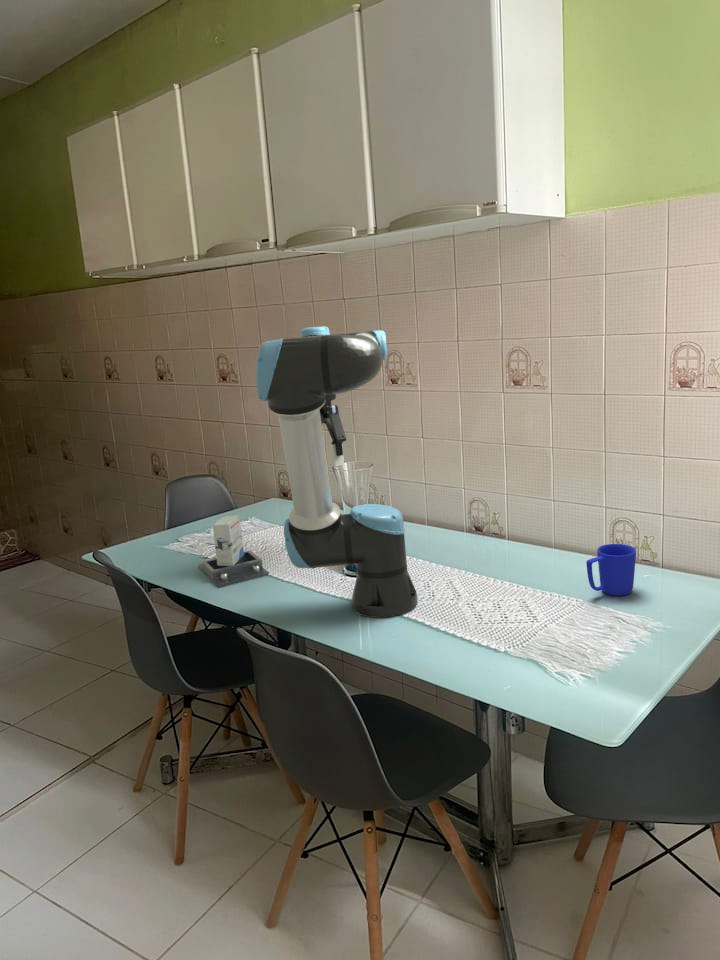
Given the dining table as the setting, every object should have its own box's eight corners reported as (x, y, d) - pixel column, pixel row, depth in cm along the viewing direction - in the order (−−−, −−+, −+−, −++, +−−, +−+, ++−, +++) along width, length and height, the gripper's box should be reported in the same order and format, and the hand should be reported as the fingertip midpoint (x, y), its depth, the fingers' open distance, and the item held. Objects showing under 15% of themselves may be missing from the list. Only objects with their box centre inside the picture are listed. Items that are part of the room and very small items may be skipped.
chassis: (269, 575, 195) (267, 564, 194) (218, 587, 189) (217, 577, 188) (245, 555, 212) (244, 546, 211) (198, 567, 206) (197, 557, 205)
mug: (576, 593, 165) (575, 552, 162) (618, 581, 169) (617, 541, 167) (601, 605, 157) (600, 562, 155) (644, 593, 162) (644, 550, 160)
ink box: (228, 555, 204) (223, 515, 202) (245, 555, 203) (240, 514, 201) (217, 566, 196) (211, 524, 193) (234, 566, 195) (228, 524, 192)
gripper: (354, 386, 184) (361, 468, 189) (314, 381, 206) (322, 455, 211) (327, 390, 181) (335, 473, 186) (290, 385, 203) (298, 459, 208)
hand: (328, 463), depth 198 cm, fingers open, 13 cm apart
